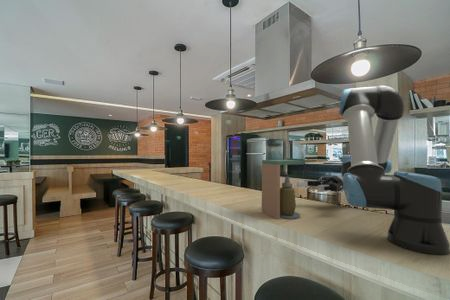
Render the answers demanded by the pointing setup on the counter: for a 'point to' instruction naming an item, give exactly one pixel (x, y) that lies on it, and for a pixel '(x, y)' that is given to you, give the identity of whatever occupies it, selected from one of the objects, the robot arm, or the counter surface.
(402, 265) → the counter surface
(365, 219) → the counter surface
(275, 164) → the green-topped pedestal
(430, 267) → the counter surface
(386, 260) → the counter surface
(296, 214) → the coaster
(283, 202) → the squeeze bottle
